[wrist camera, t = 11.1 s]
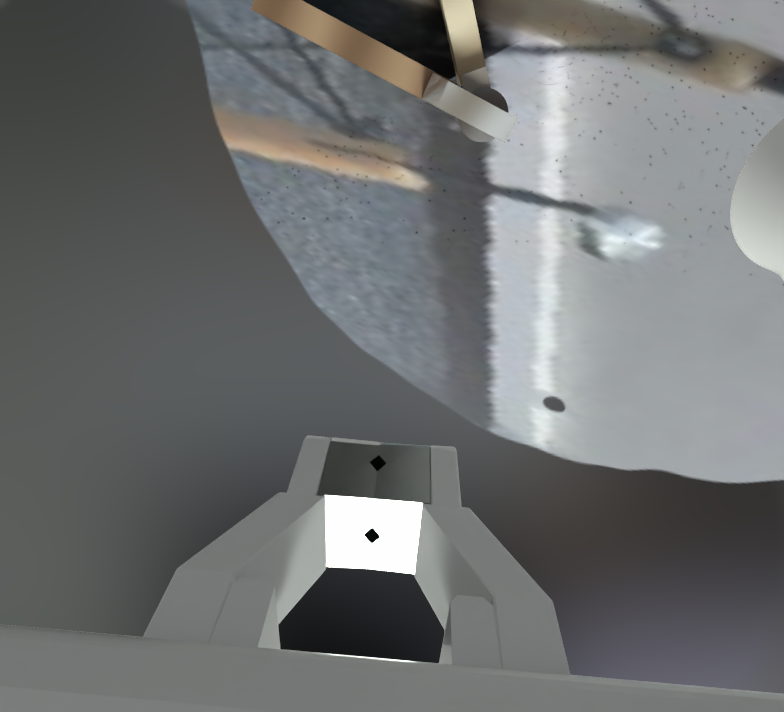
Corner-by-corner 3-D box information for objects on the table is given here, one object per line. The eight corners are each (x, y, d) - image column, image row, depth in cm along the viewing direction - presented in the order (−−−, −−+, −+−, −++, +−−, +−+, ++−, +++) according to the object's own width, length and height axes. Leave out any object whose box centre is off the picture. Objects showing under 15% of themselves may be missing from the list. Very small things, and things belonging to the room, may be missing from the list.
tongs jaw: (506, 110, 42) (518, 116, 36) (494, 134, 43) (503, 144, 37) (274, -15, 38) (249, -28, 33) (266, 14, 39) (241, 6, 34)
